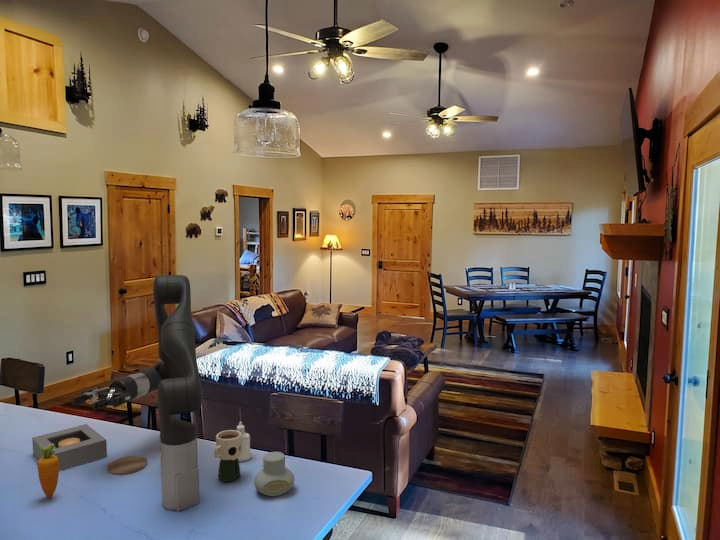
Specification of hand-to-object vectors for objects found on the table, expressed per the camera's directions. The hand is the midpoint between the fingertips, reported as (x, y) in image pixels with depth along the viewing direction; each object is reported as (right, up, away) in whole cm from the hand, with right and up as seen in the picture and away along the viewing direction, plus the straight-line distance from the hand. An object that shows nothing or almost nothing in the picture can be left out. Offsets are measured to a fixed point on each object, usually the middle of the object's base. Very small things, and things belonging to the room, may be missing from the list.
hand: (83, 404), depth 148 cm
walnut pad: (+8, -21, +10) cm, 25 cm away
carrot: (-5, -23, -8) cm, 25 cm away
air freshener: (+55, -23, -3) cm, 59 cm away
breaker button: (-13, -18, +17) cm, 28 cm away
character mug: (+40, -22, +4) cm, 46 cm away
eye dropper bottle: (+41, -21, +16) cm, 49 cm away
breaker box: (-13, -21, +17) cm, 30 cm away
